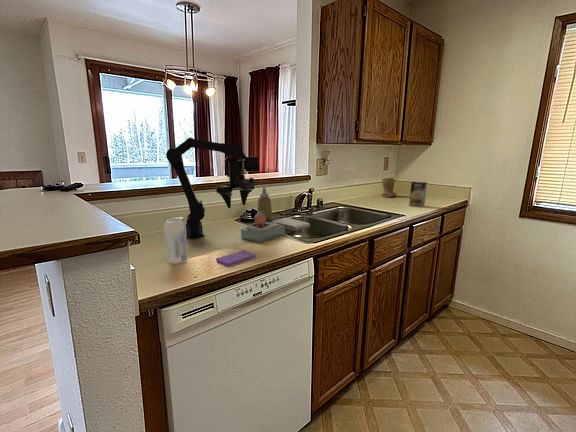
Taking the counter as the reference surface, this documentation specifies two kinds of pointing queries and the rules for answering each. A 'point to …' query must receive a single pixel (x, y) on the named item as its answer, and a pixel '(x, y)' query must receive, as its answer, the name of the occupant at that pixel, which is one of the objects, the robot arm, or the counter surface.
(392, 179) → the brown boot
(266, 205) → the squeeze bottle
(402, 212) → the counter surface
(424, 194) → the coffee box
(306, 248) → the counter surface
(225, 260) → the sponges
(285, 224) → the washcloth
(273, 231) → the grey piece
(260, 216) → the spout can
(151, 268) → the counter surface
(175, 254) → the beer glass
